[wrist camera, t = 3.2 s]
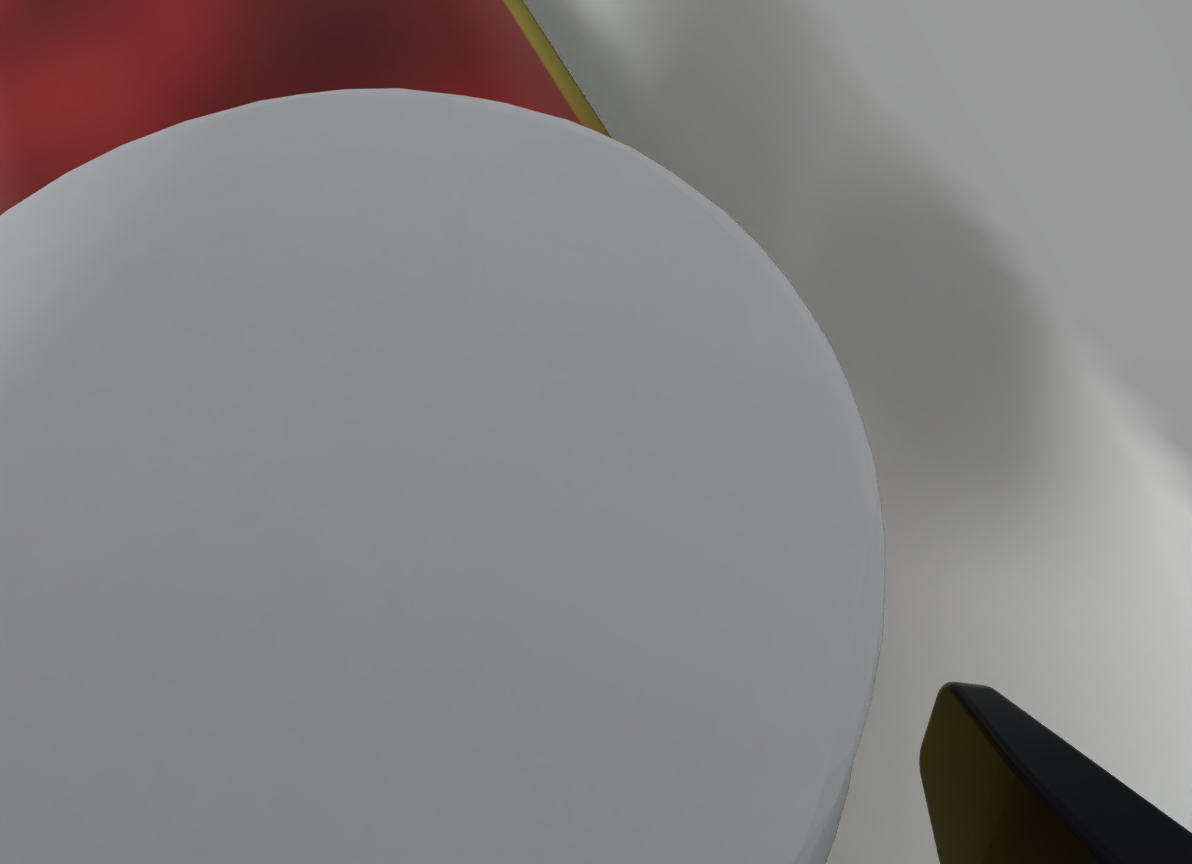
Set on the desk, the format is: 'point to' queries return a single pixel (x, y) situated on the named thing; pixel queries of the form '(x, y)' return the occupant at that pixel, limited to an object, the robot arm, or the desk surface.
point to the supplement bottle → (419, 505)
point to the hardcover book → (245, 66)
